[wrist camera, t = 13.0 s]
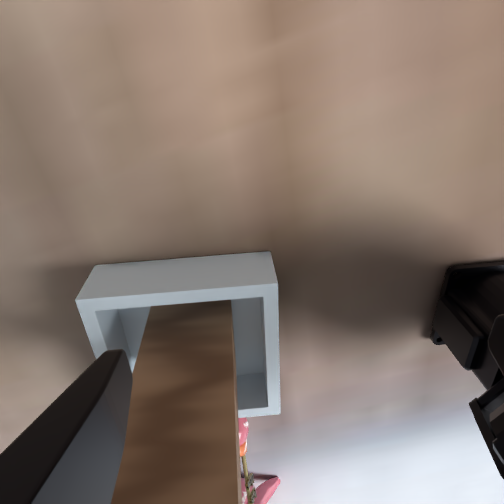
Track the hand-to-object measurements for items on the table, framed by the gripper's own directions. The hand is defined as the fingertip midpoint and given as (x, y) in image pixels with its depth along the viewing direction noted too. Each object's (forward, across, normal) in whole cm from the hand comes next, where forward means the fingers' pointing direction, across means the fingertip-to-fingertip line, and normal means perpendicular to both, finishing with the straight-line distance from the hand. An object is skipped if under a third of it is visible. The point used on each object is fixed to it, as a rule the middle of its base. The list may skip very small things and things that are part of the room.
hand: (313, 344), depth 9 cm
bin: (+13, +5, +10) cm, 17 cm away
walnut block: (+12, +5, +10) cm, 17 cm away
